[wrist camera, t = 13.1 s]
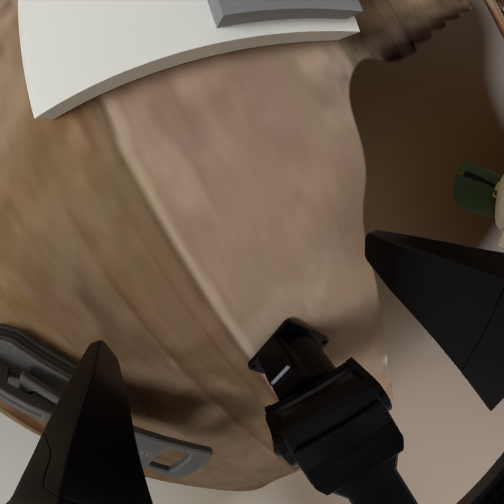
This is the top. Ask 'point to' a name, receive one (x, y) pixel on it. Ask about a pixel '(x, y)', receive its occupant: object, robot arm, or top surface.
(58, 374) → the zipper pull
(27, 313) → the top surface
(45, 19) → the mounting board
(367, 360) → the top surface
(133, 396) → the top surface
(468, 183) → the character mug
